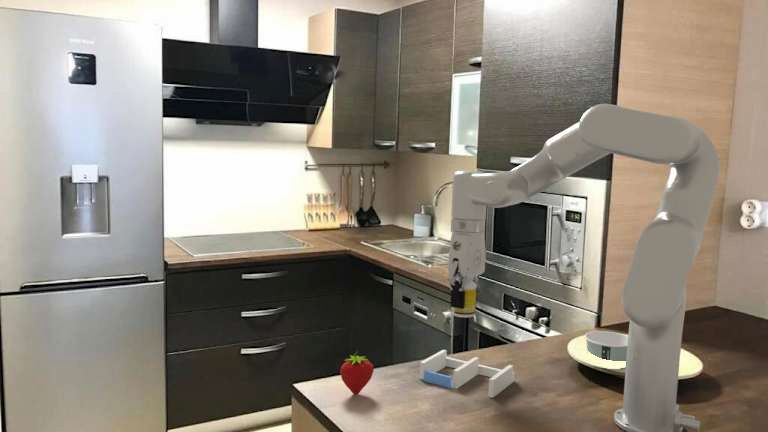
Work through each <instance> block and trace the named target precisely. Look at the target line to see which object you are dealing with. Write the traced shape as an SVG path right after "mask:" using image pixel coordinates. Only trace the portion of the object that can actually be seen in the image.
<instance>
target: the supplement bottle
mask: <svg viewBox="0 0 768 432" xmlns="http://www.w3.org/2000/svg"><path fill="white" fill-rule="evenodd" d="M457 276H459V277H462V276H461V274H457ZM456 280H457V281H459V283H460V282H461V280H459V279H456ZM473 280H474V277H473V278H470V279H466V280H465V285H464V290H463V291H465V305H464V308H463V309H459V308H454V307H451V311H450V313H451V314H452V316H455V317H458V318H465V319H467V318H472V317H474V316H475V315H476V307H477V306H476V305H477V302H476V290H477V291H478V285H476V283H475V282H473Z"/></svg>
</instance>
